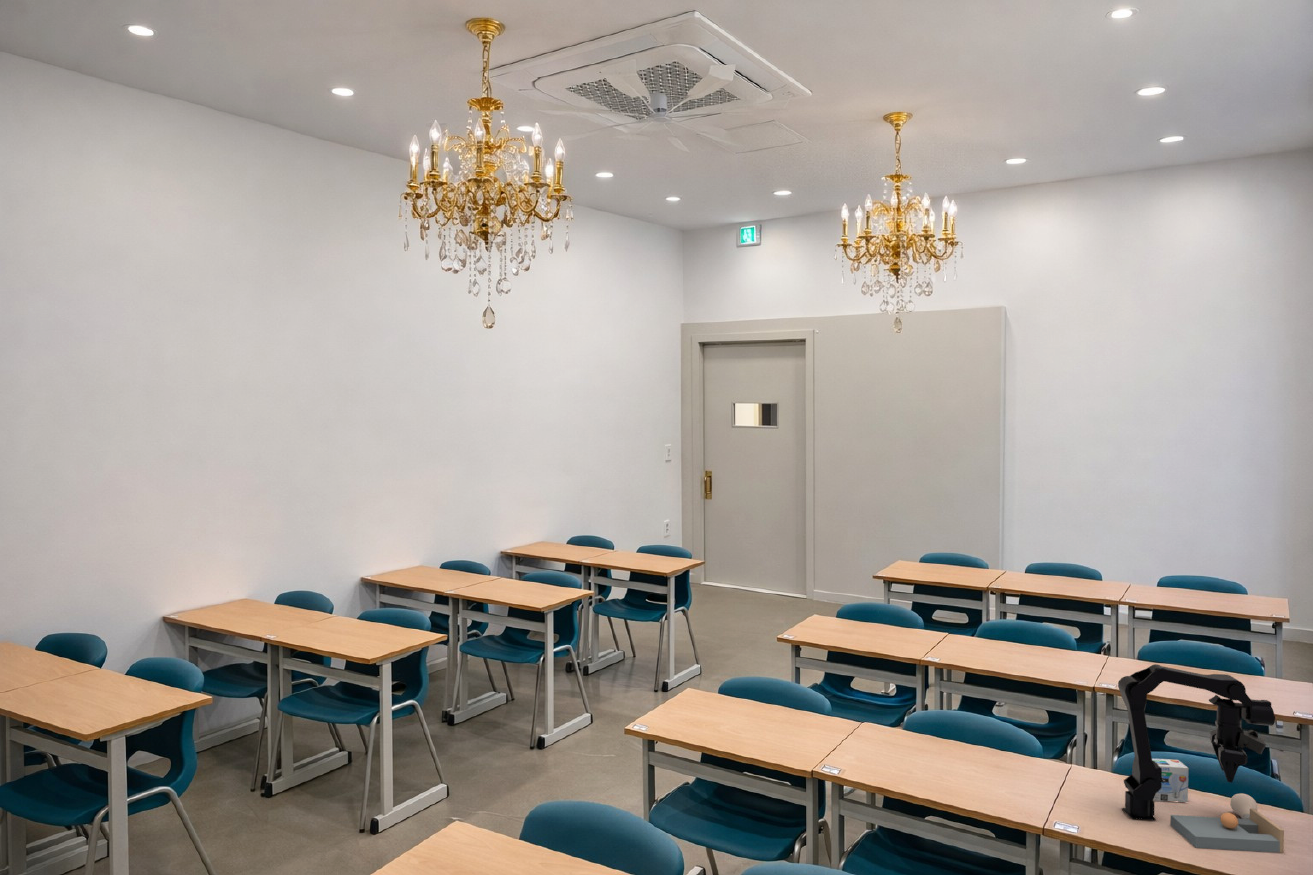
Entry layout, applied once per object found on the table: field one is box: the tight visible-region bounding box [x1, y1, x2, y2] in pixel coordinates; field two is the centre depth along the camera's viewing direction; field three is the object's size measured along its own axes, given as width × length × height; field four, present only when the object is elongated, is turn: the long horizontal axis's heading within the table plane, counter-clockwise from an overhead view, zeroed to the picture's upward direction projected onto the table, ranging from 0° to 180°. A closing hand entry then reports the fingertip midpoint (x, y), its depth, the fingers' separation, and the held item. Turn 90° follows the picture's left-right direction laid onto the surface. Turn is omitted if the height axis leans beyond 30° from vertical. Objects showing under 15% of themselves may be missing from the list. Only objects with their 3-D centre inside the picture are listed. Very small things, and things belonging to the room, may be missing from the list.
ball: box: [1220, 812, 1238, 829], centre depth 227 cm, size 4×4×4 cm
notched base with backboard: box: [1169, 808, 1285, 854], centre depth 227 cm, size 22×13×6 cm, turn 84°
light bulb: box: [1229, 792, 1259, 819], centre depth 239 cm, size 7×7×11 cm
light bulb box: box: [1152, 757, 1190, 803], centre depth 253 cm, size 11×7×11 cm, turn 83°
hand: (1226, 776), depth 235 cm, fingers open, 9 cm apart
